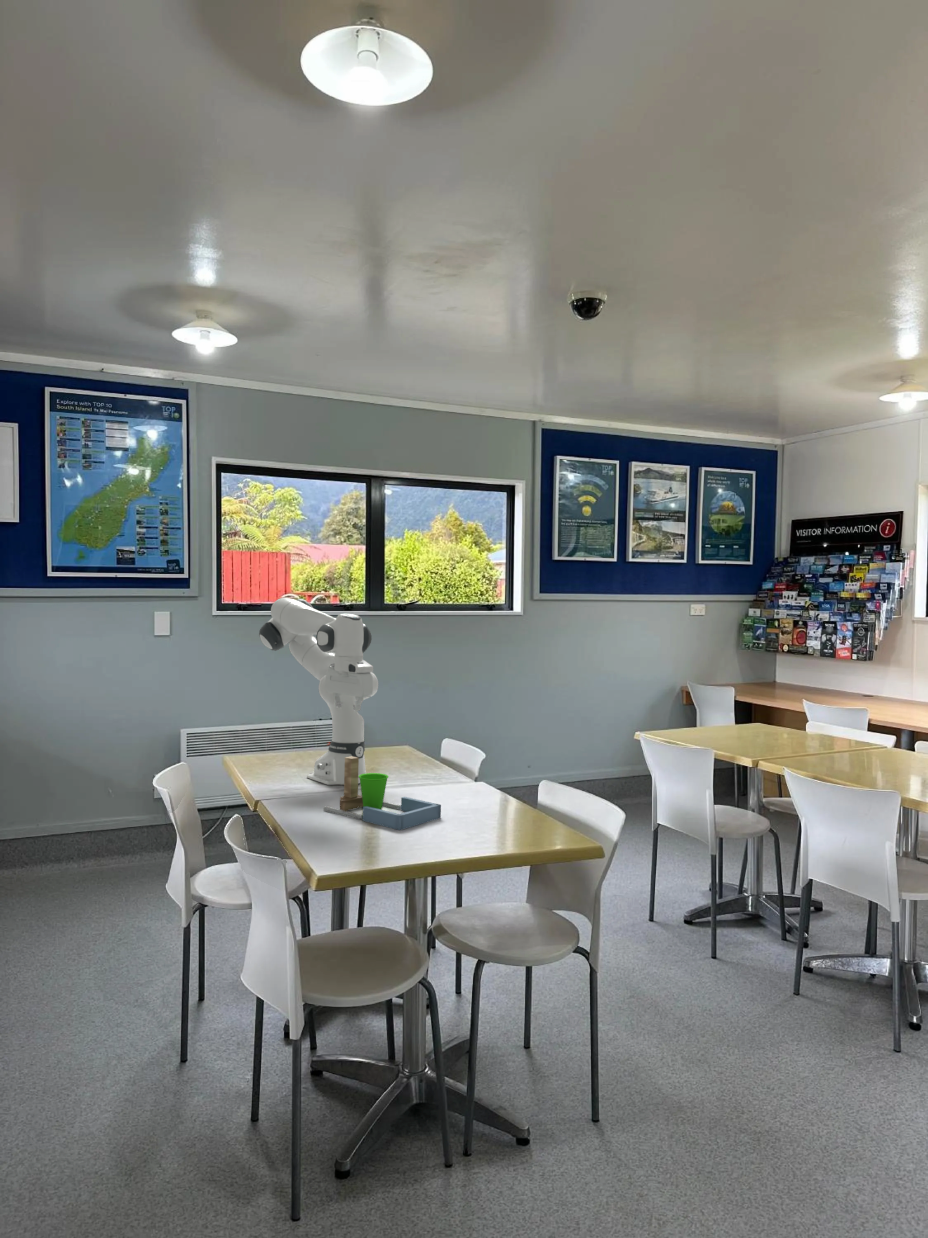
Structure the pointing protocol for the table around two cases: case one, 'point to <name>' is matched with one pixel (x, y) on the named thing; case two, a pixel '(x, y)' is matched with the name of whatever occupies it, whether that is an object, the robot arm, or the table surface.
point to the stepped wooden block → (351, 785)
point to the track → (355, 815)
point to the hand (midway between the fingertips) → (347, 709)
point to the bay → (404, 814)
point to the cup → (373, 789)
